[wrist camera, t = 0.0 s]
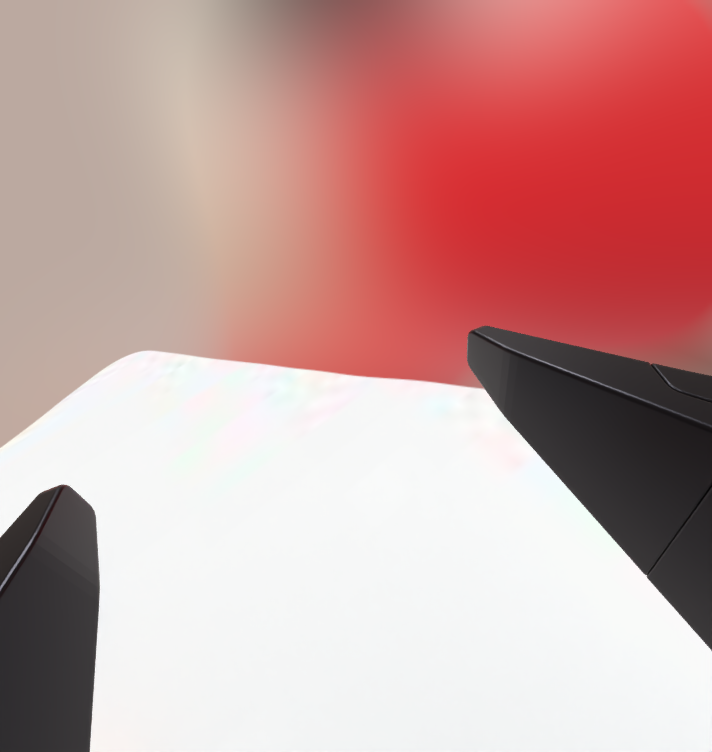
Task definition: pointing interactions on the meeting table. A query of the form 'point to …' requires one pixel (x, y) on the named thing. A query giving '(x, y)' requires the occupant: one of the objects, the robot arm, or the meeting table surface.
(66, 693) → the robot arm
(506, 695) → the meeting table surface
